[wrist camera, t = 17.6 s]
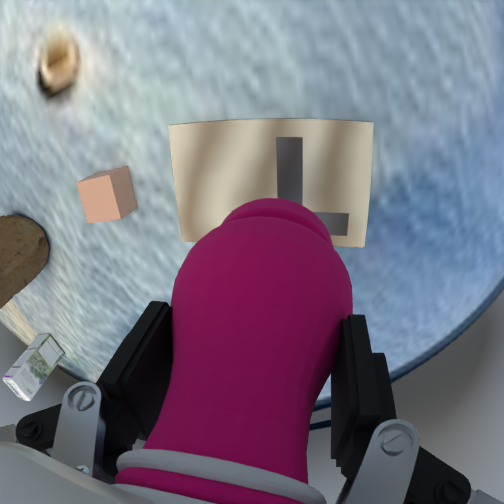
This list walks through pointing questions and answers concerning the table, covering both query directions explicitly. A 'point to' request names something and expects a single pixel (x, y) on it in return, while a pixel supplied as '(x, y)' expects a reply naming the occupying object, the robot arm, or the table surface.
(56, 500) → the robot arm
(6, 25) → the table surface
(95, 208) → the block
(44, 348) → the syrup box
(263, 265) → the pepper mill
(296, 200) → the board
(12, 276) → the block
